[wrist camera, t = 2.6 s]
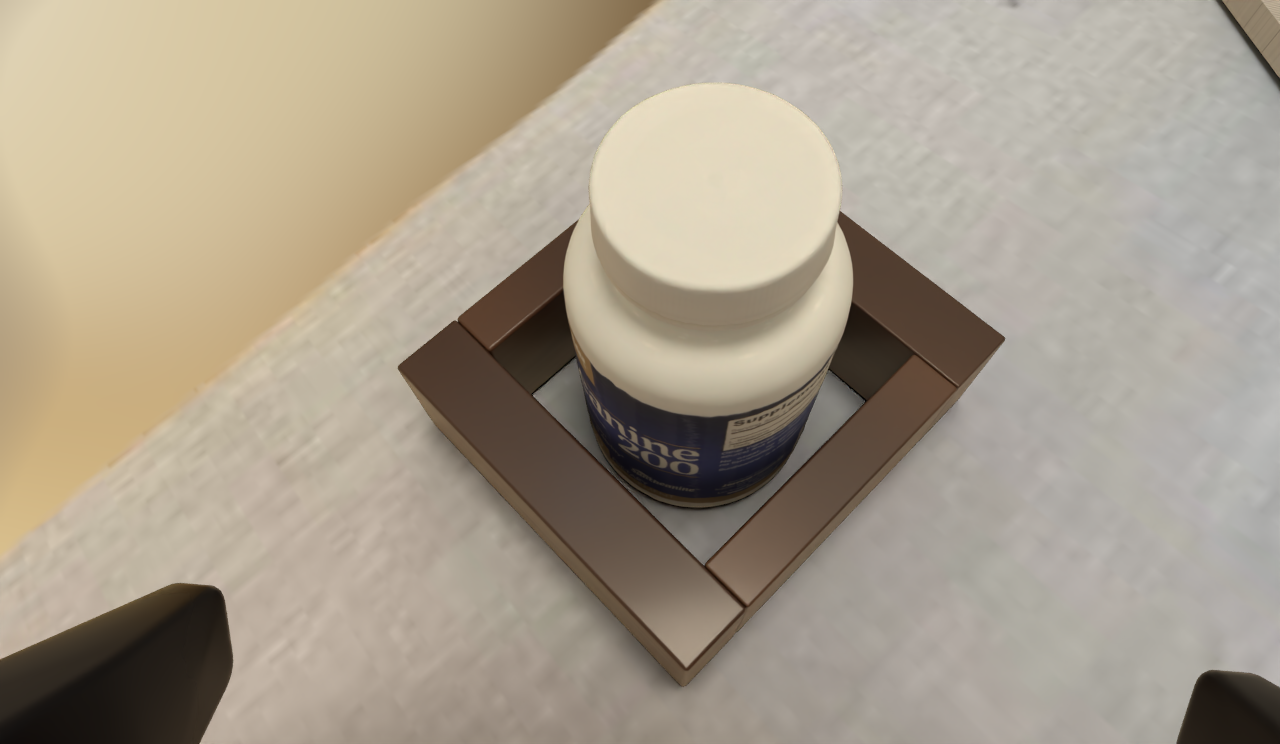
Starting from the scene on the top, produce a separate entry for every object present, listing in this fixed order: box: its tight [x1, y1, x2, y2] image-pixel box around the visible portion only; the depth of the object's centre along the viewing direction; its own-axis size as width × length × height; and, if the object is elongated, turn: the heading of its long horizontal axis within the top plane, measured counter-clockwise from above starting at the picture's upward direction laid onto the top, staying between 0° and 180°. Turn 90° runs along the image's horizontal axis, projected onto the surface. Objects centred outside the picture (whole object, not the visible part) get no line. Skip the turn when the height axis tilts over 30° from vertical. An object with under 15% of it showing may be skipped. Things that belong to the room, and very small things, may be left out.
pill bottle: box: [563, 83, 853, 507], centre depth 18 cm, size 5×5×10 cm
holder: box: [398, 211, 1005, 687], centre depth 21 cm, size 10×9×4 cm
